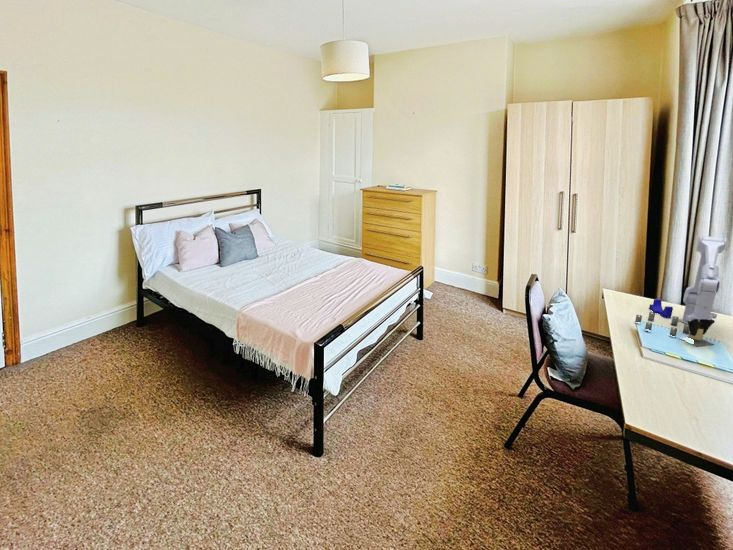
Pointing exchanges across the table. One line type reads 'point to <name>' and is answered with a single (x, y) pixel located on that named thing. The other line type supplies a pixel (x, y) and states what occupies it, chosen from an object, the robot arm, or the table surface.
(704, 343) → the mat
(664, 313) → the cable clip
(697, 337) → the brass nut
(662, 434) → the table surface
